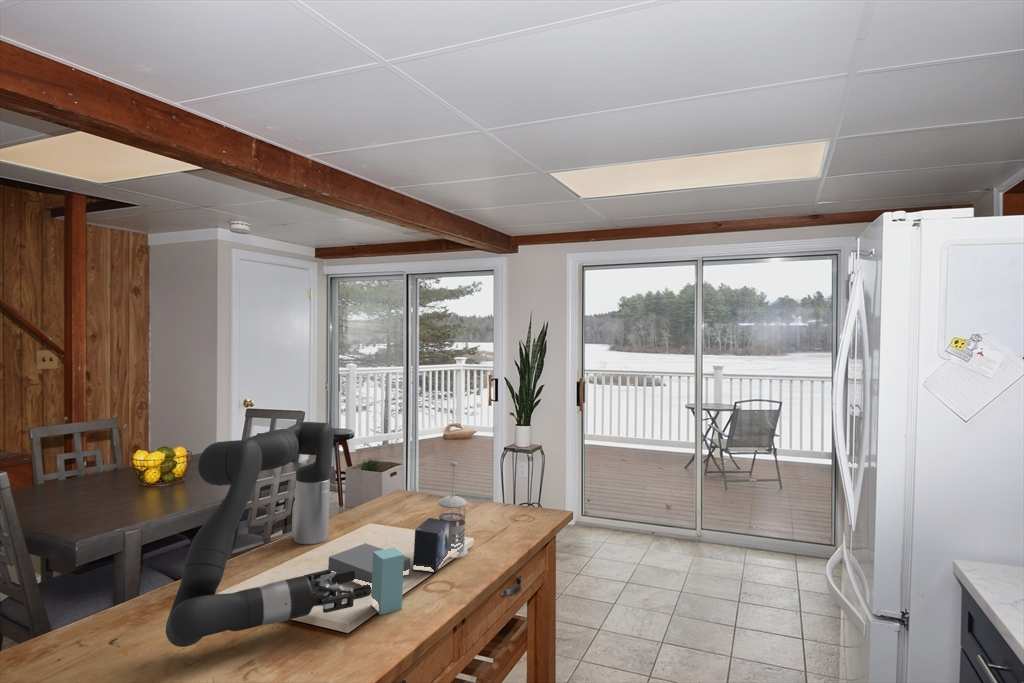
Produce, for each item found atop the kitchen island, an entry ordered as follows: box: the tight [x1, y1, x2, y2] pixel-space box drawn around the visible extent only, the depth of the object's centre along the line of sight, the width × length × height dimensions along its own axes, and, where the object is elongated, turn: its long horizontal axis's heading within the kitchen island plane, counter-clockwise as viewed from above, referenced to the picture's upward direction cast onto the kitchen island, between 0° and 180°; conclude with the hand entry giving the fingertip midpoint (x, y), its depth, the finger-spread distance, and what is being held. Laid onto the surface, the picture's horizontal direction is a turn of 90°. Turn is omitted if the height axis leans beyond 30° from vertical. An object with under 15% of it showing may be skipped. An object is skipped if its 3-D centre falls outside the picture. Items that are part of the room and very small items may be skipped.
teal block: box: [370, 547, 405, 615], centre depth 130 cm, size 5×5×12 cm
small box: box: [412, 517, 450, 574], centre depth 155 cm, size 11×6×10 cm, turn 168°
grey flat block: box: [327, 542, 411, 583], centre depth 147 cm, size 16×12×4 cm
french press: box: [437, 461, 469, 559], centre depth 165 cm, size 10×12×25 cm
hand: (361, 582), depth 127 cm, fingers open, 8 cm apart
